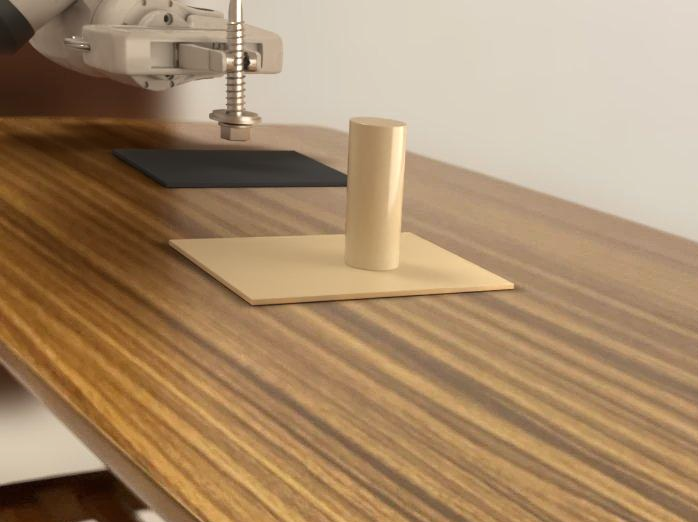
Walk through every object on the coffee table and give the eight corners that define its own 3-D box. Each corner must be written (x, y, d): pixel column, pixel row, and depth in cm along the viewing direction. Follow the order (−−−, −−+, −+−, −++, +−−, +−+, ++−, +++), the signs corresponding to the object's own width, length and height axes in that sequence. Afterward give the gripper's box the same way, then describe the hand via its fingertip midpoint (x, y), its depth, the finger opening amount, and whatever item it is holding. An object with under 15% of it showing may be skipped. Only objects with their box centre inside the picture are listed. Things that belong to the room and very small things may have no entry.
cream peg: (359, 272, 88) (365, 126, 83) (334, 258, 91) (339, 116, 86) (408, 269, 90) (417, 127, 86) (383, 255, 93) (390, 117, 88)
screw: (232, 144, 115) (198, 135, 118) (271, 142, 119) (237, 133, 121) (233, -7, 109) (196, -13, 112) (273, -5, 113) (238, -11, 115)
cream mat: (251, 305, 79) (251, 299, 79) (168, 244, 90) (168, 239, 90) (513, 289, 90) (514, 283, 89) (409, 236, 101) (409, 231, 101)
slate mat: (166, 187, 108) (166, 182, 108) (111, 153, 120) (111, 149, 120) (361, 185, 119) (361, 181, 118) (294, 154, 130) (294, 150, 130)
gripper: (51, 3, 112) (148, 24, 105) (226, 10, 128) (321, 28, 121) (55, 77, 115) (150, 101, 108) (226, 74, 130) (319, 95, 124)
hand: (242, 62), depth 115 cm, fingers closed on screw, 2 cm apart
